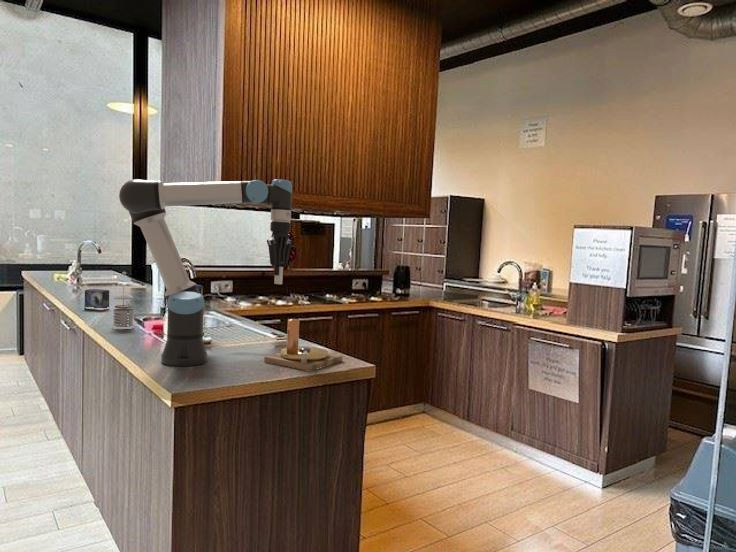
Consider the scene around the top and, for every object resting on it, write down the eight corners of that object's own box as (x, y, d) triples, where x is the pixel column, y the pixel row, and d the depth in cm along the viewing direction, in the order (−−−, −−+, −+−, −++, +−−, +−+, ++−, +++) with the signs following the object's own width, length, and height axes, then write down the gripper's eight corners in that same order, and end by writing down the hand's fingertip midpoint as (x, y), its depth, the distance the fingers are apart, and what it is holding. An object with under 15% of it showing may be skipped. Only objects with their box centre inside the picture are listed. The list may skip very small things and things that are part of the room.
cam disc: (337, 357, 197) (339, 320, 196) (297, 363, 186) (299, 323, 185) (310, 348, 210) (311, 313, 209) (271, 353, 199) (272, 316, 198)
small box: (83, 309, 288) (83, 289, 287) (91, 308, 294) (92, 288, 293) (101, 311, 286) (102, 291, 285) (109, 309, 292) (110, 289, 292)
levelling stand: (310, 371, 185) (311, 356, 184) (264, 362, 194) (264, 348, 194) (342, 361, 202) (342, 347, 202) (298, 352, 212) (298, 340, 211)
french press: (127, 325, 250) (128, 270, 248) (141, 328, 244) (143, 272, 242) (106, 327, 242) (107, 271, 240) (120, 331, 236) (121, 273, 234)
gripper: (277, 221, 199) (275, 285, 201) (299, 222, 211) (296, 283, 213) (261, 220, 203) (259, 283, 205) (283, 221, 214) (281, 282, 216)
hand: (278, 283), depth 209 cm, fingers closed
